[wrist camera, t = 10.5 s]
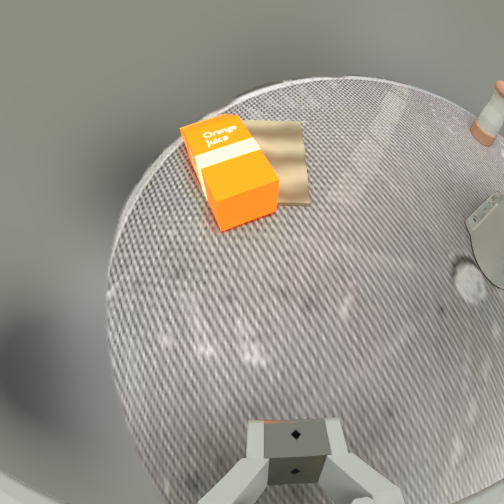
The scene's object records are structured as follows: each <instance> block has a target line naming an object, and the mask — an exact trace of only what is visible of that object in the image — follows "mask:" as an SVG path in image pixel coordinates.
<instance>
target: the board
mask: <svg viewBox="0 0 504 504" xmlns="http://www.w3.org/2000/svg"><path fill="white" fill-rule="evenodd" d="M241 121H242V123H243V124H244V126H245V127H246V128H247V130H248V131H249V133H250V134H251V136H252V137H253V138H254V140H255V141H256V143H257V144H258V146H259V147H260V150H261V151H262V153H263V154H264V156H265V157H266V159H267V160H268V162H269V164H270V165H271V167H272V168H273V170H274V171H275V173H276V175H277V176H278V178H279V179H280V181H279V190H278V200H277V205H284V206H310V196H309V186H308V177H307V168H306V160H305V151H304V143H303V136H302V128H301V122H292V121H267V120H241Z"/></svg>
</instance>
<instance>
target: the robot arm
mask: <svg viewBox="0 0 504 504" xmlns="http://www.w3.org/2000/svg"><path fill="white" fill-rule="evenodd" d="M465 223H466V226H467V229H468V231H469V233H470V235H471V240H472V247H473V252H474V255H475V258H476V260H477V262H478V265H479V266H480V268H481V270H482V271H483V273H484V274H485V276H486V277H487V278H488V279H489V280H490V281H491V282H492V283H493V284H494V285H496V286H497V287H499V288H501V289H504V196H502V195H501V194H500V193H499V191H496V193H493V194H492V195H491V196H490V197H489V198H488V199H487V200H486V201H485V202H484V203H483V204H482V205H481V206H479V207H478V208H477V209H476V210H475V211H474V212H473V213H472V214H471V215H470V216H469V217H468V218H467V219H466V220H465ZM301 483H317V484H318V485H319V486H320V487H321V488H322V489H323V490H324V492H325V493H326V494H327V495H328V496H329V497H330V498H331V499H332V500H333V501H334V502H335V504H405V503H404V500H403V497H402V494H401V490H400V488H398V487H397V486H396V485H394V484H393V483H391V482H390V481H389V480H387V479H386V478H385V477H383V476H382V475H381V474H379V473H378V472H377V471H376V470H374V469H373V468H372V467H370V466H369V465H368V464H366V463H365V462H364V461H363V460H361V459H360V458H359V457H358V456H356V455H355V454H354V453H348V449H347V446H346V442H345V438H344V434H343V430H342V427H341V423H340V419H339V418H338V417H332V418H317V419H302V420H248V427H247V447H246V458H241V459H240V460H239V461H238V462H237V463H236V464H235V466H234V467H233V468H232V469H231V470H230V471H229V472H228V473H227V474H226V475H225V476H224V477H223V478H222V479H221V480H220V481H219V482H218V483H217V484H216V485H215V486H214V487H213V488H212V489H211V490H210V491H209V492H208V493H207V494H206V495H205V496H204V497H203V498H202V499H201V500H200V501H198V504H254V503H255V502H256V501H257V499H258V498H259V497H260V495H261V494H262V493H263V491H264V490H265V488H266V487H267V485H281V484H301ZM0 504H70V503H67V502H65V501H62V500H60V499H58V498H55V497H54V496H51V495H49V494H47V493H45V492H43V491H41V490H39V489H37V488H35V487H33V486H31V485H29V484H27V483H25V482H23V481H22V480H20V479H18V478H16V477H14V476H12V475H11V474H9V473H8V472H6V471H4V470H3V469H1V468H0ZM452 504H504V478H503V479H501V480H500V481H498V482H496V483H494V484H492V485H490V486H489V487H487V488H485V489H483V490H481V491H479V492H477V493H475V494H472V495H470V496H468V497H466V498H464V499H462V500H459V501H457V502H455V503H452Z"/></svg>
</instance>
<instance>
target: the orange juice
mask: <svg viewBox="0 0 504 504" xmlns="http://www.w3.org/2000/svg"><path fill="white" fill-rule="evenodd" d="M180 131H181V134H182V136H183V139H184V142H185V145H186V148H187V151H188V154H189V156H190V159H191V163H192V165H193V168H194V170H195V172H196V175H197V177H198V179H199V182H200V184H201V186H202V189H203V192H204V194H205V196H206V198H207V201H208V202H209V204H210V207H211V209H212V211H213V214H214V216H215V218H216V220H217V223H218V225H219V227H220V229H221V232H222V231H225V230H227V229H230V228H232V227H235V226H238V225H240V224H243V223H245V222H248V221H251V220H253V219H256V218H259V217H261V216H264V215H267V214H269V213H272V212H275V211H276V209H277V200H278V190H279V181H280V179H279V178H278V176H277V175H276V173H275V171H274V170H273V168H272V167H271V165H270V164H269V162H268V160H267V159H266V157H265V156H264V154H263V153H262V151H261V150H260V147H259V146H258V144H257V143H256V141H255V140H254V138H253V137H252V136H251V134H250V133H249V131H248V130H247V128H246V127H245V126H244V124H243V123H242V121H241V120H240V118H239V117H238V115H227V114H223V115H220V116H216V117H213V118H210V119H207V120H203V121H200V122H197V123H194V124H191V125H188V126H185V127H182V128H180Z"/></svg>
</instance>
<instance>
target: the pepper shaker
mask: <svg viewBox="0 0 504 504" xmlns="http://www.w3.org/2000/svg"><path fill="white" fill-rule="evenodd" d="M495 89H496V90H495V92H494V94H493V95H492V98H491V99H490V101H489V102H488V104H487V105H486V106H485V107H484V109H483V110H482V111H481V114H480V115H479V117H478V119H476V120H475V122H474V123H473V125H472V127H471V133H472V135H473V136H474V137H475V138H476V139H477V140H478V141H479V142H480V143H481V144H483V145H485V146H488V147H489V146H491V145H492V143H493V142H494V140H495V139H496V137H497V133H498V131H499V130H500V128H501V127H502V124H503V122H504V81H497V82H496V83H495Z"/></svg>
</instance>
